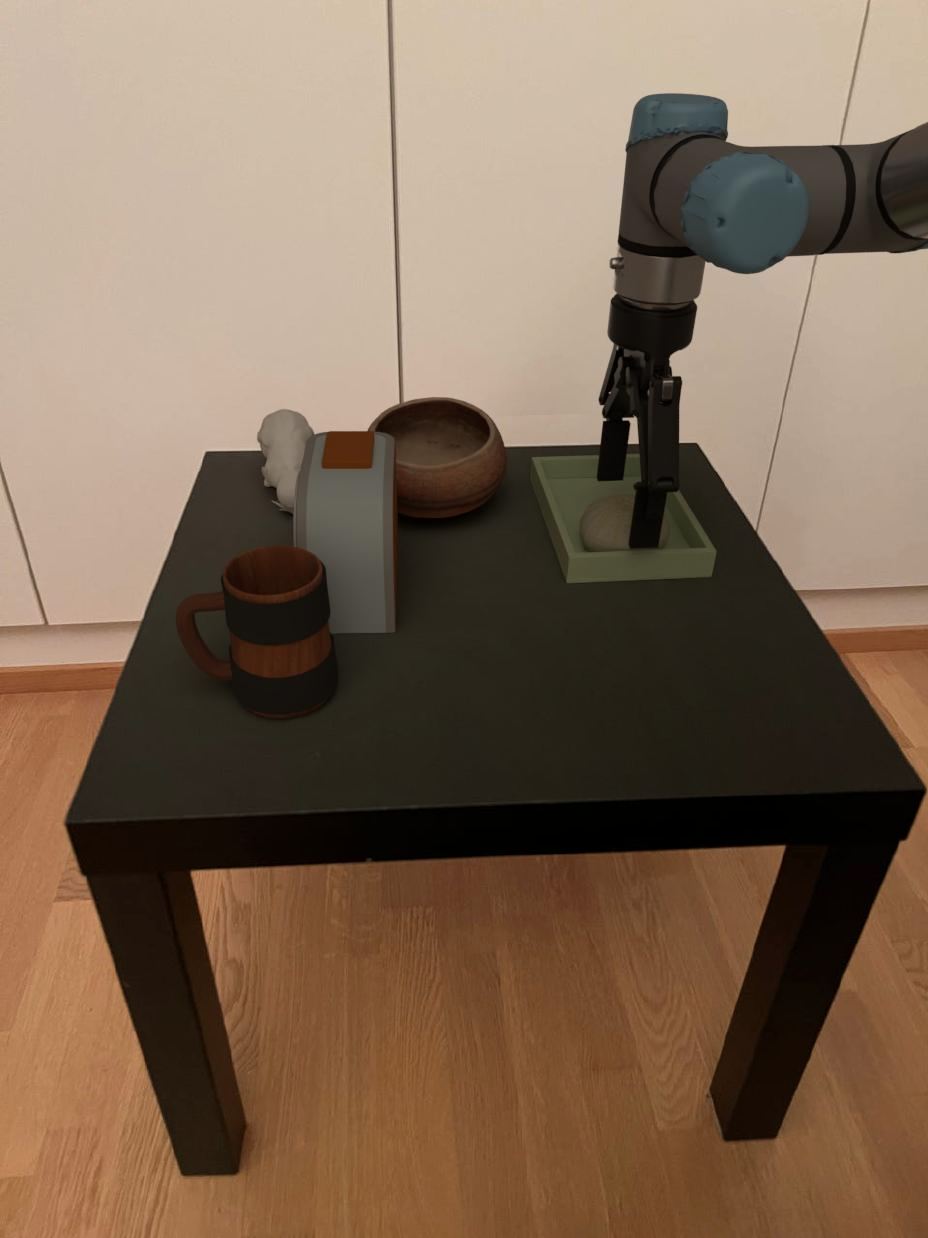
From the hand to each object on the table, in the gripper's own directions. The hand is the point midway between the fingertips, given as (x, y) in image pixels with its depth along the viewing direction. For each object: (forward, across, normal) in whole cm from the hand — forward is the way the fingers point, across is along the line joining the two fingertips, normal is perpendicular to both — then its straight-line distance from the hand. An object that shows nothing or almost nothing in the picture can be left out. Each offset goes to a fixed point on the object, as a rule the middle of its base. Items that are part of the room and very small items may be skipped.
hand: (625, 511), depth 95 cm
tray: (+4, -5, 0) cm, 7 cm away
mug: (+5, +20, -35) cm, 40 cm away
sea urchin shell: (+4, 0, 0) cm, 4 cm away
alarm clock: (+5, +5, -27) cm, 28 cm away
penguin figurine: (+5, -14, -34) cm, 37 cm away
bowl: (+5, -11, -18) cm, 22 cm away
